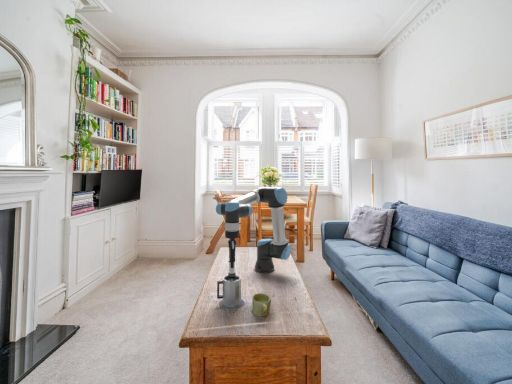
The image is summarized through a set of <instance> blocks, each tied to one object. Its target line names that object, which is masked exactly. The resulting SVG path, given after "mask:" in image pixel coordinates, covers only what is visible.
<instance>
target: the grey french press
mask: <svg viewBox="0 0 512 384" xmlns="http://www.w3.org/2000/svg"><path fill="white" fill-rule="evenodd" d="M216 282H217V283H216V285H217V286H216V287H217V288H216V291H217V292H216V293H217V294H216V298H217V299H222V300H223V305H224V306H225V307H229V308H234V307H237V306H239V305H240V304H241V299H242V277H241V276H240V275H238V274H236V277H235V278H233V281H231V278H228V274H227V275H224V276H223V277H222V280H217V281H216ZM220 285H222V294H221V295H220Z"/></svg>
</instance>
